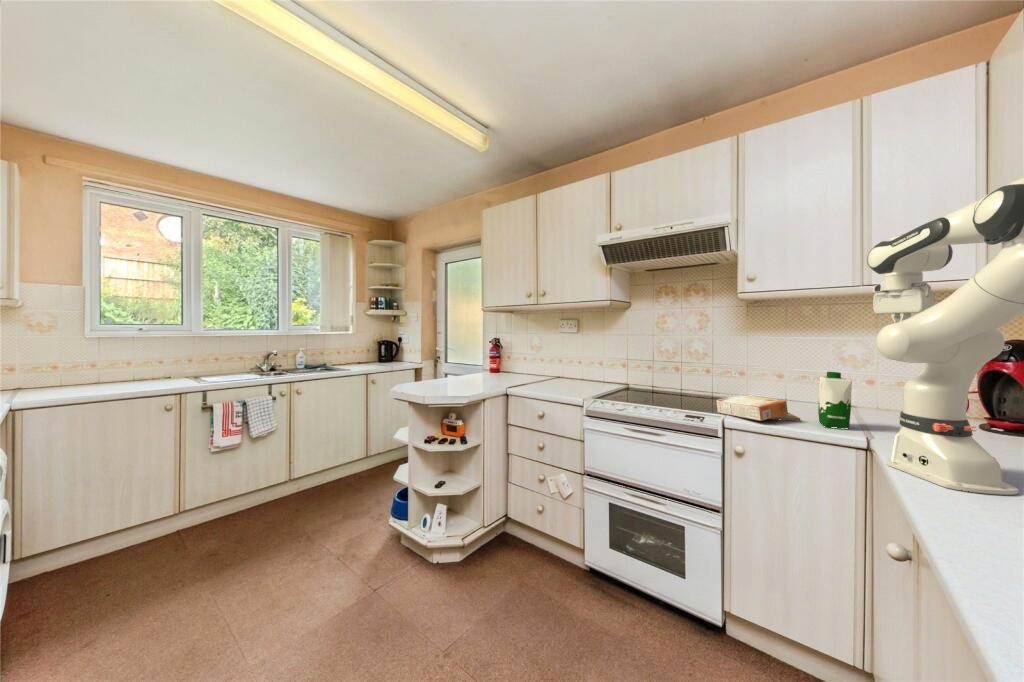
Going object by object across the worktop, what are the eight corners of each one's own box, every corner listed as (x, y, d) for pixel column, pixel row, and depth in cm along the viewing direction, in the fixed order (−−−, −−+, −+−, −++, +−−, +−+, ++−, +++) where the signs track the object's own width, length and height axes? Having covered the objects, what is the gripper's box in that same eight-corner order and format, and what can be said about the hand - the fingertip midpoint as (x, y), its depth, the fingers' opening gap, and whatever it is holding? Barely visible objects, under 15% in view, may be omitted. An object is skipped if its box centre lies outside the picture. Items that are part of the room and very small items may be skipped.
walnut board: (800, 421, 146) (800, 418, 146) (754, 419, 150) (754, 416, 150) (776, 409, 166) (776, 407, 166) (736, 407, 169) (736, 405, 169)
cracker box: (788, 415, 145) (742, 407, 165) (787, 400, 145) (740, 393, 165) (761, 422, 141) (716, 412, 161) (759, 406, 141) (715, 399, 161)
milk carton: (844, 425, 141) (847, 372, 140) (853, 431, 133) (855, 375, 132) (815, 422, 145) (817, 371, 144) (821, 428, 137) (823, 373, 136)
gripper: (942, 281, 112) (940, 327, 113) (890, 287, 132) (888, 326, 133) (917, 282, 114) (915, 327, 114) (869, 288, 133) (867, 326, 134)
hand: (900, 327), depth 124 cm, fingers closed
